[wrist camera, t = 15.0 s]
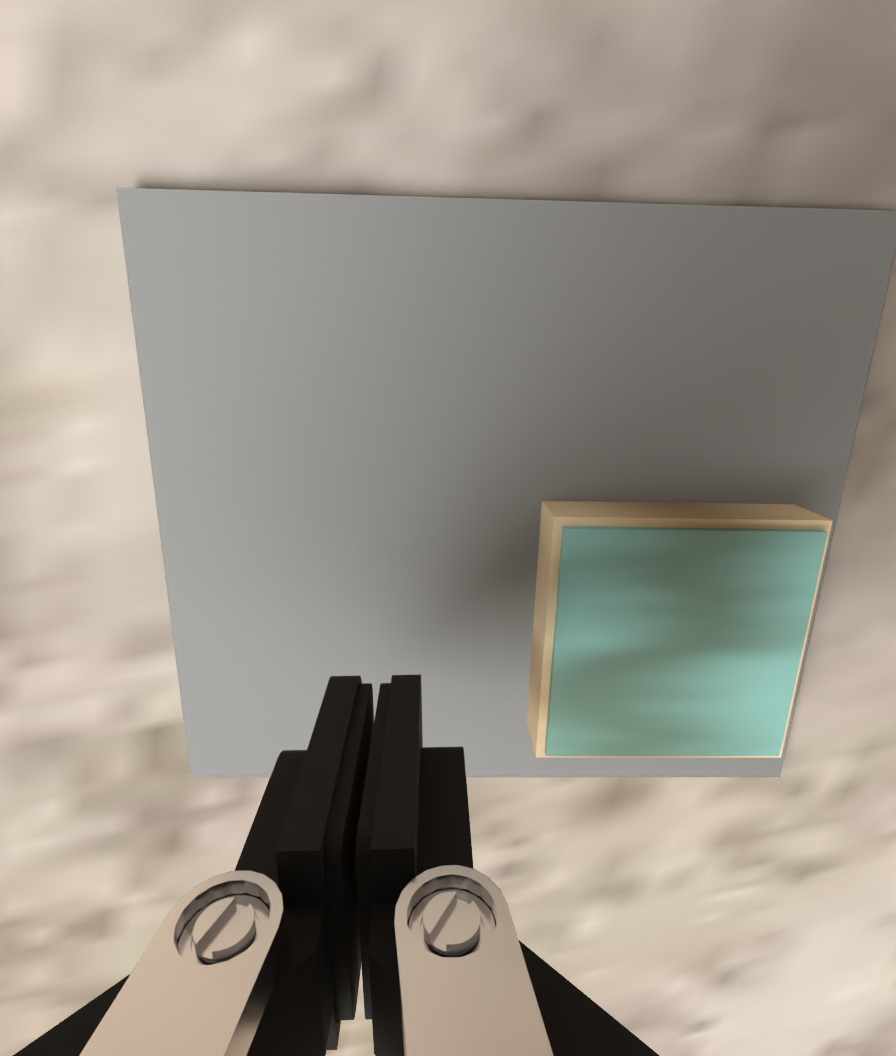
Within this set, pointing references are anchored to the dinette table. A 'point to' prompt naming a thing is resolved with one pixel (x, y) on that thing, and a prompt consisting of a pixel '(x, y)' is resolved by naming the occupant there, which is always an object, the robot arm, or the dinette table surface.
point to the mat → (462, 429)
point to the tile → (670, 627)
